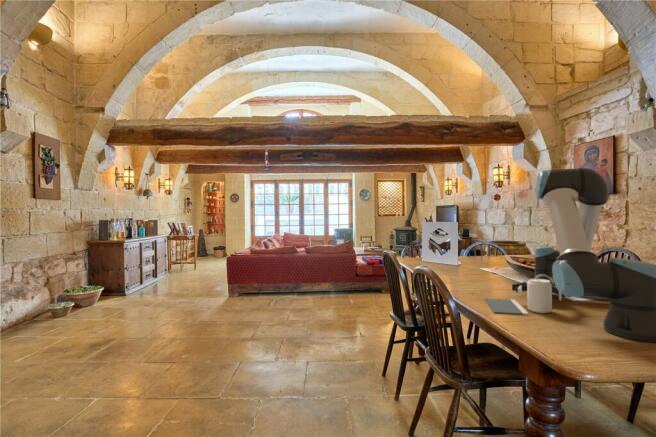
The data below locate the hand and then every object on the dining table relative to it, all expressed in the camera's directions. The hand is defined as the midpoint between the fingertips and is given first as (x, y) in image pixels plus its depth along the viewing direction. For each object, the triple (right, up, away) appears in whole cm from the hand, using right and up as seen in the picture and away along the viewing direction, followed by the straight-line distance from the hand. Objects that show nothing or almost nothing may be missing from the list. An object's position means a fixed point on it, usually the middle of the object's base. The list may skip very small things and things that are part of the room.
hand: (538, 294), depth 129 cm
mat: (-9, -7, +7) cm, 13 cm away
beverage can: (+1, -7, +1) cm, 7 cm away
